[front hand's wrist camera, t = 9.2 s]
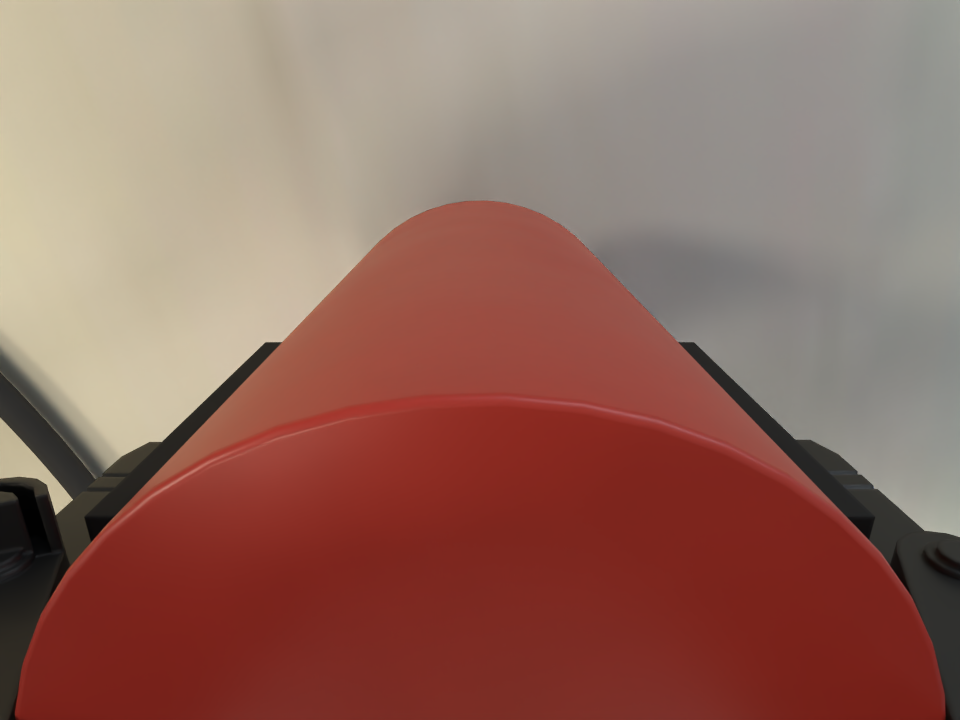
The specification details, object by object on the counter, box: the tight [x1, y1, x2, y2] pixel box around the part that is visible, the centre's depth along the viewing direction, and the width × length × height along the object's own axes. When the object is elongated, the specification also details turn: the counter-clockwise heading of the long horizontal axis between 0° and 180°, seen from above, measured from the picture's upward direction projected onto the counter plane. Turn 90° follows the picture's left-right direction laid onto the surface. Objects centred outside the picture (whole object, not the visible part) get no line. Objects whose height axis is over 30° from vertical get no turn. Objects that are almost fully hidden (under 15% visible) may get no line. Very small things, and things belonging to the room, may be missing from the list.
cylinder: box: [15, 201, 946, 720], centre depth 11 cm, size 8×8×13 cm
